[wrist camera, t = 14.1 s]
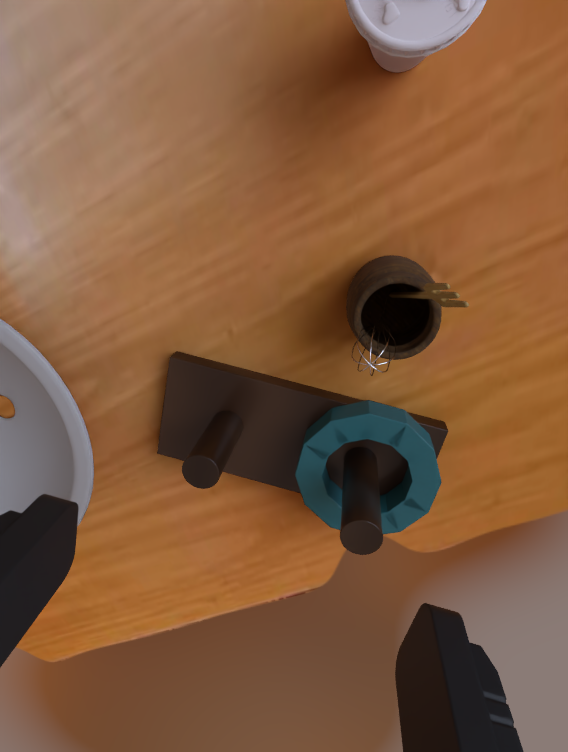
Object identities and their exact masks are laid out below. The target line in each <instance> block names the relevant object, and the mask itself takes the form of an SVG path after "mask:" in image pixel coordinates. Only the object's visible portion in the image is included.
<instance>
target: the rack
mask: <svg viewBox="0 0 568 752" xmlns="http://www.w3.org/2000/svg"><path fill="white" fill-rule="evenodd" d="M362 401H363V400H359V399H355V398H352V397H348V396H344V395H340V394H337V393H333V392H329V391H325V390H321V389H318V388H314V387H310V386H306V385H303V384H299V383H295V382H291V381H287V380H284V379H280V378H276V377H272V376H268V375H265V374H261V373H257V372H253V371H250V370H246V369H242V368H238V367H234V366H231V365H227V364H223V363H219V362H215V361H212V360H208V359H204V358H200V357H197V356H193V355H189V354H185V353H181V352H178V351H176V352H175V353H174V354H173V355H172V356H171V357H170V360H169V368H168V375H167V383H166V390H165V398H164V405H163V413H162V420H161V428H160V436H159V443H158V451H157V453H158V454H161V455H165V456H169V457H172V458H176V459H179V460H183V461H184V463H183V466H182V473H183V476H184V478H185V479H186V481H187V482H188V483H190V484H191V485H192V486H194V487H197V488H202V489H205V488H210V487H212V486H214V485H215V484H216V483H217V482H218V480H219V478H220V476H221V474H222V472H226V473H230V474H233V475H237V476H241V477H244V478H248V479H251V480H255V481H259V482H262V483H266V484H269V485H273V486H277V487H280V488H284V489H287V490H291V491H295V492H298V493H301V491H300V488H299V485H298V482H297V479H296V476H295V472H296V468H297V463H298V459H299V455H300V452H301V448H302V445H303V441H304V438H305V434H306V431H307V429H308V428H309V427H311V426H312V425H313V424H314V423H315V422H316V421H317V420H319V419H320V418H321V417H322V416H323V415H324V414H325V413H327V412H328V411H329V410H330V409H331V408H333V407H338V406H343V405H348V404H352V403H357V402H362ZM407 413H408V412H407ZM408 414H409V415H410V416H411V417H412V418H413V419H414V420H415V421H416V422H417V423H418V424H419V425H420V426H421V427H422V428H423V429H425V430H426V431H427V432H428V433H429V434H430V437H431V441H432V444H433V447H434V451H435V455H436V459H437V457H438V454H439V452H440V450H441V447H442V445H443V442H444V440H445V437H446V435H447V433H448V429H447V426H446V424H445V422H443V421H439V420H435V419H431V418H427V417H424V416H420V415H416V414H412V413H408ZM326 468H327V471H328V475H329V478H330V479H331V480H332V481H333V482H334V483H335V484H336V485H337V486H339V487H340V488H341V489H342V508H341V528H340V539H341V542H342V544H343V546H344V547H345V548H346V549H347V550H349V551H351V552H352V553H355V554H360V555H366V554H370V553H373V552H375V551H376V550H378V549H379V548H380V546H381V544H382V542H383V532H382V518H381V505H380V495H384V494H387V493H388V492H389V491H391V490H392V489H393V488H395V487H396V486H397V485H399V484H400V483H401V482H402V481H403V478H404V476H405V473H406V471H407V468H408V461H407V460H406V459H405V458H404V457H403V456H402V455H401V454H400V453H399V452H398V451H396V450H395V449H394V448H393V447H392V446H391V445H387V444H384V443H380V442H377V441H373V440H369V439H365V440H359V441H354V442H349V443H344V444H343V445H342V446H341V447H339V448H338V449H337V450H336V451H335V452H333V453H332V454H331V455H330V456H329V457H328V459H327V462H326Z"/></svg>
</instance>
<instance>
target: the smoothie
mask: <svg viewBox="0 0 568 752" xmlns="http://www.w3.org/2000/svg"><path fill="white" fill-rule="evenodd" d="M345 1H346V4H347V8H348V12H349V15H350V17H351V19H352V21H353V23H354V24H355V26H356V28H357V30H358V31H359V33H360V34H361V35H362V36H363V37H364V38H365V39H366V40H367V41H368V44H369V47H370V49H371V52H372V55H373V57H374V59H375V60H376V62H377V63H378V64H379V65H380V66H381V67H382V68H384V69H385V70H387V71H390V72H404V71H407V70H410V69H412V68H413V67H415V66H416V65H418V64H419V63H420V62H421V61H422V60H423V59H424V58H426V57H427V56H428V55H430V54H432V53H435V52H437V51H439V50H441V49H443V48H446V47H447V46H449V45H450V44H451V43H453V42H454V41H455V40H456V39H458V38H459V37H460V36H461V35H463V34H464V33H465V32H466V31H467V29H468V28H469V27H470V26H471V24H472V23H473V22H474V21H475V19H476V18H477V17H478V16H479V14H480V13H481V11H482V9H483V7H484V5H485V3H486V1H487V0H345Z"/></svg>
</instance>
